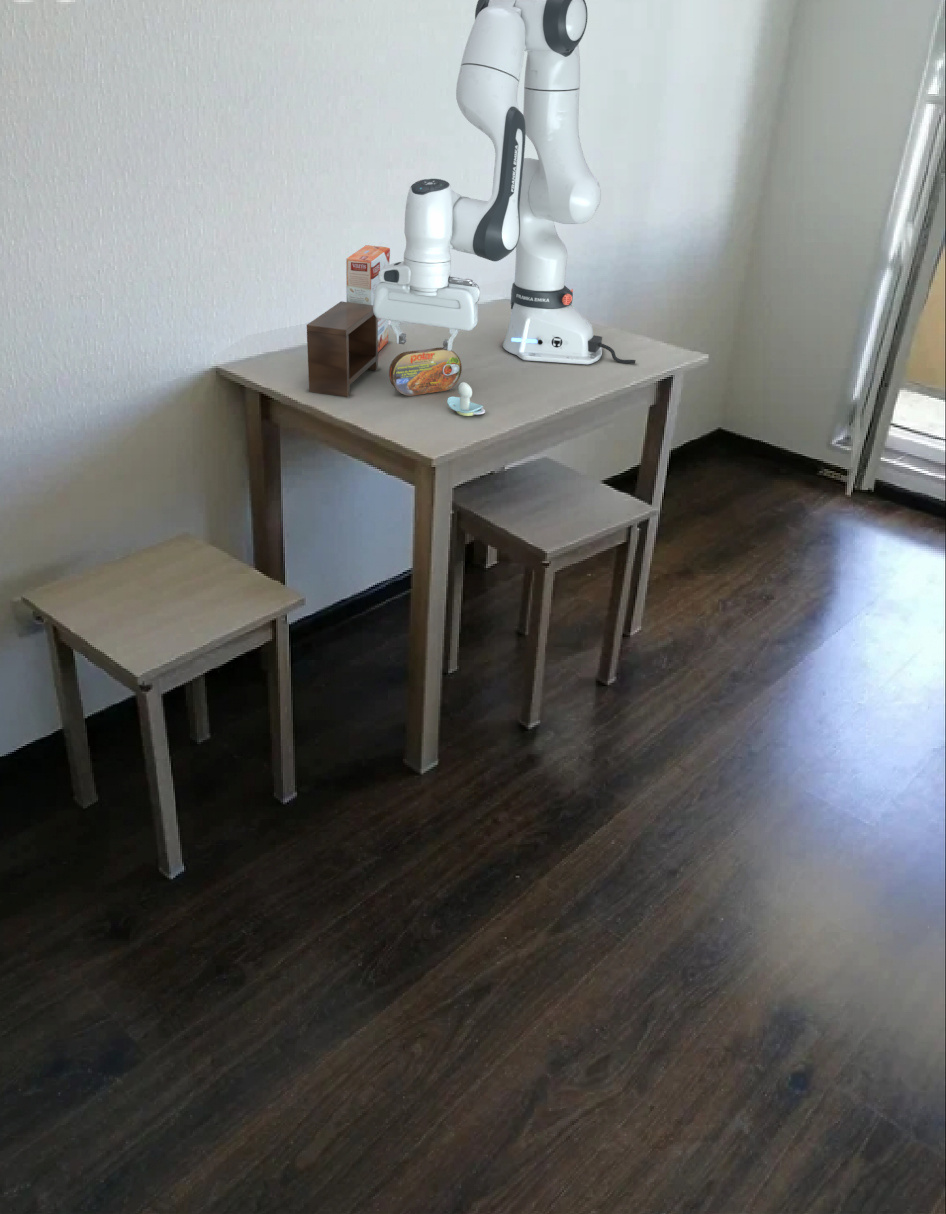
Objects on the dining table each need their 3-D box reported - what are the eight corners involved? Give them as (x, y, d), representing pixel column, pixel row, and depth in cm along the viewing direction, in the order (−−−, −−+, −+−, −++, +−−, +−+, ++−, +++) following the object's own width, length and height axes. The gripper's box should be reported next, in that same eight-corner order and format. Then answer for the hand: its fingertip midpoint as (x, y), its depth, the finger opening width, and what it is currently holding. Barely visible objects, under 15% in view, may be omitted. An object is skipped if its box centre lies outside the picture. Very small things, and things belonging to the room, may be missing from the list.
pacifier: (461, 404, 192) (442, 411, 188) (464, 372, 189) (444, 379, 185) (492, 413, 189) (473, 421, 184) (494, 382, 186) (475, 389, 181)
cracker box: (372, 361, 211) (372, 260, 200) (345, 358, 212) (343, 257, 201) (390, 342, 223) (391, 246, 211) (364, 339, 223) (364, 243, 212)
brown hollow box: (378, 368, 207) (377, 305, 200) (347, 397, 192) (346, 329, 185) (342, 364, 208) (340, 301, 201) (309, 391, 194) (306, 324, 187)
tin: (393, 398, 193) (393, 356, 188) (386, 392, 195) (387, 351, 191) (461, 389, 199) (463, 348, 195) (454, 384, 201) (456, 343, 197)
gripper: (484, 276, 185) (479, 349, 193) (381, 263, 189) (380, 335, 196) (476, 284, 180) (471, 358, 187) (370, 270, 184) (369, 344, 191)
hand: (424, 346), depth 192 cm, fingers open, 8 cm apart
